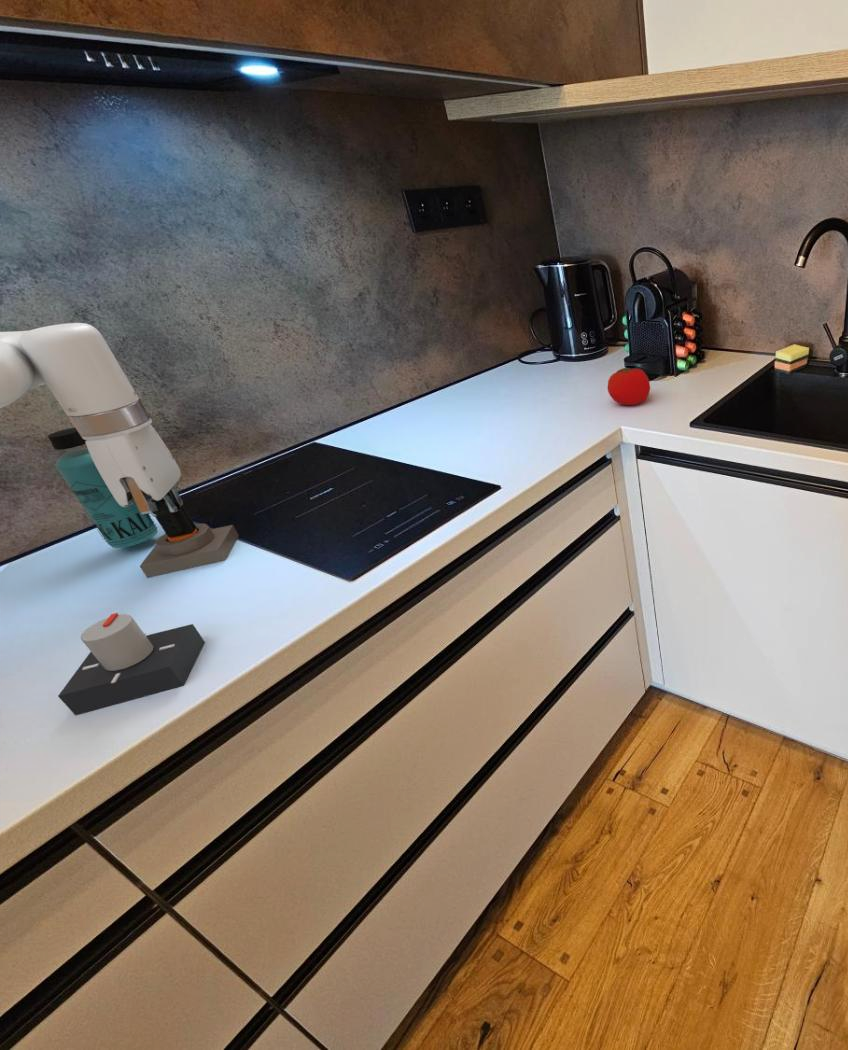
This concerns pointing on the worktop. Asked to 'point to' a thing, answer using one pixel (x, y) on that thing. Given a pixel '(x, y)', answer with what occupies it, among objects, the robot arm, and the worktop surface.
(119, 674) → the black angular plate
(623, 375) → the tomato
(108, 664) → the dial
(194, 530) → the lid button
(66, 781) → the worktop surface
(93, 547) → the worktop surface
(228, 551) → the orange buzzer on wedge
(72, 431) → the beverage bottle
